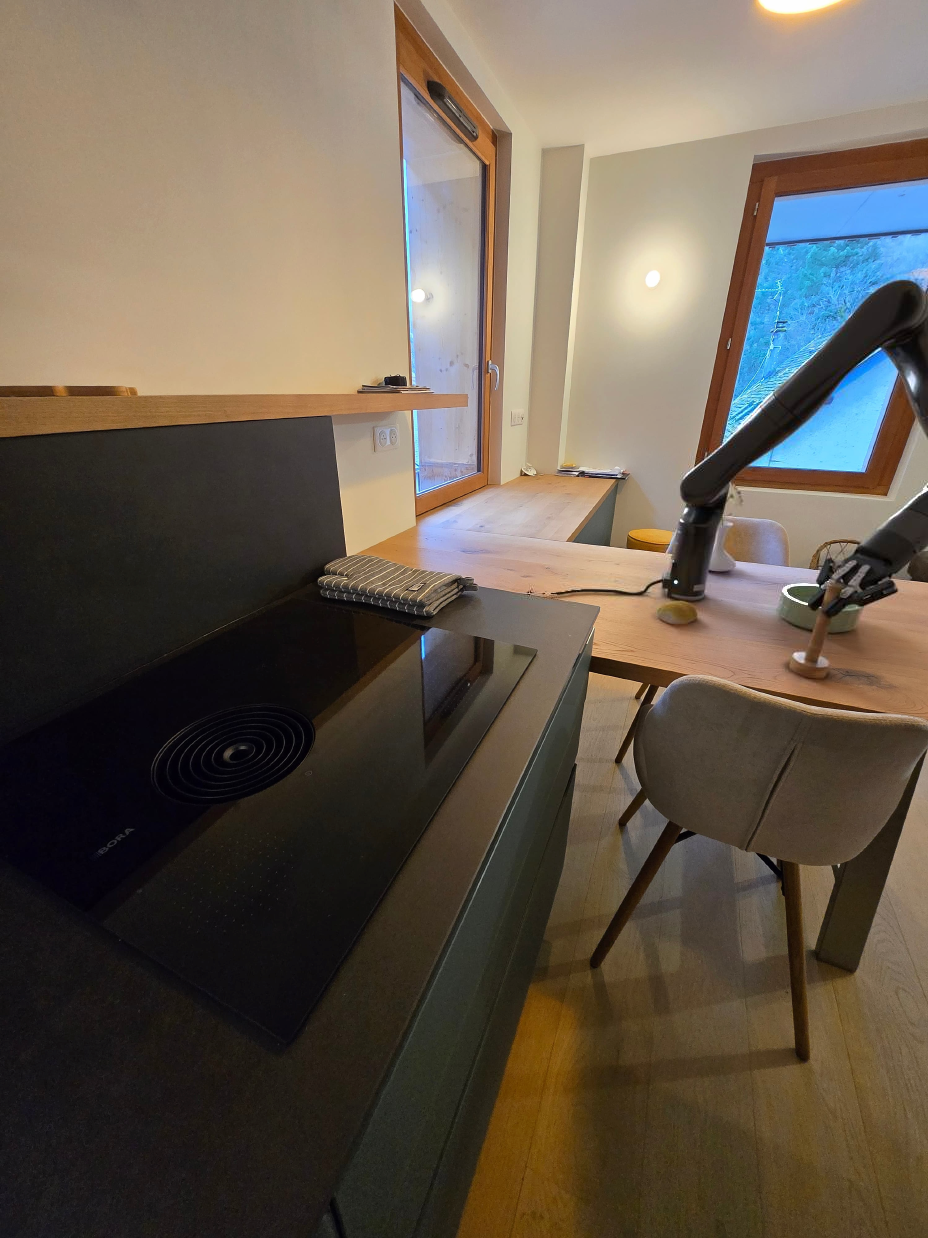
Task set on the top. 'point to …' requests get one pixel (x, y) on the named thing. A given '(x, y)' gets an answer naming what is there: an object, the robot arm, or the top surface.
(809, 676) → the wooden plunger
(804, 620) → the bowl
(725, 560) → the flower in vase
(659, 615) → the bread roll
